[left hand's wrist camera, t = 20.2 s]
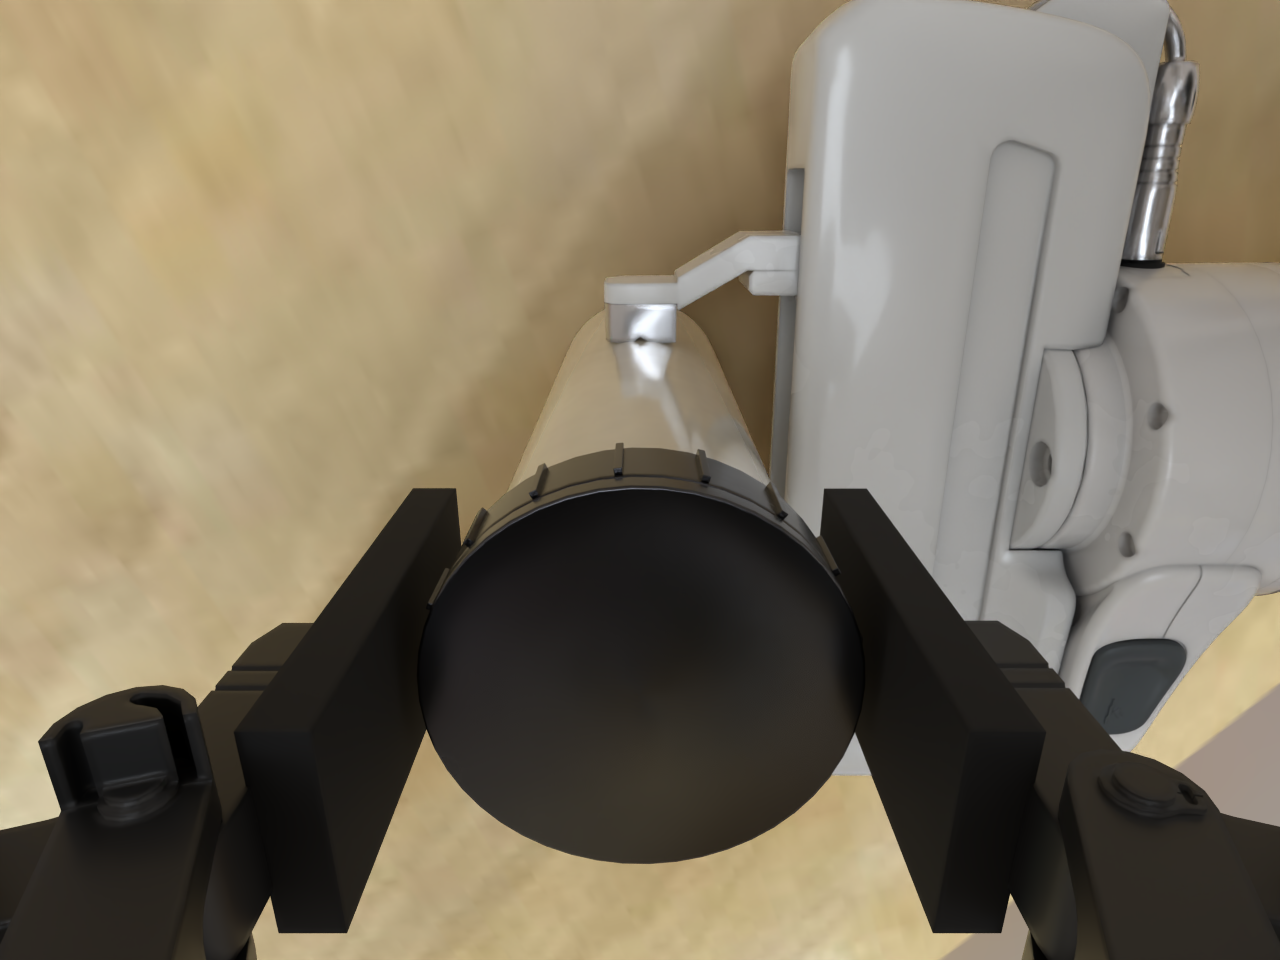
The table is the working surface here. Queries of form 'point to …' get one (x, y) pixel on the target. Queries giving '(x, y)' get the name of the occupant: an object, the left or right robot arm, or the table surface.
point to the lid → (641, 658)
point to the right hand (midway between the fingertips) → (607, 435)
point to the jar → (640, 402)
